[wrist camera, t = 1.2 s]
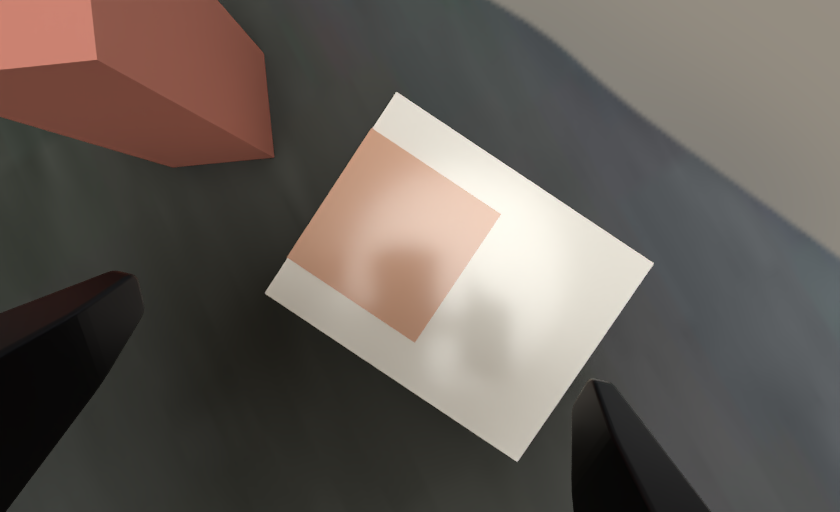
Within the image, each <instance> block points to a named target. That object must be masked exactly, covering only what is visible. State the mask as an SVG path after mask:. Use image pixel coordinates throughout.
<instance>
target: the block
mask: <svg viewBox="0 0 840 512" xmlns="http://www.w3.org/2000/svg"><path fill="white" fill-rule="evenodd" d="M0 117H3V118H6V119H10V120H13V121H16V122H20V123H23V124H27V125H30V126H33V127H37V128H40V129H44V130H47V131H50V132H54V133H57V134H61V135H64V136H67V137H71V138H74V139H77V140H81V141H84V142H88V143H91V144H94V145H98V146H101V147H105V148H108V149H111V150H115V151H118V152H122V153H125V154H128V155H132V156H135V157H139V158H142V159H145V160H149V161H152V162H156V163H159V164H162V165H166V166H169V167H183V166H193V165H203V164H214V163H224V162H234V161H244V160H254V159H265V158H274V149H273V139H272V129H271V119H270V109H269V99H268V89H267V79H266V70H265V60H264V53H263V52H262V51H261V50H260V48H259V47H258V46H257V45H256V44H255V43H254V42H253V40H252V39H251V38H250V37H249V36H248V35H247V34H246V32H245V31H244V30H243V29H242V28H241V27H240V26H239V24H238V23H237V22H236V21H235V20H234V19H233V17H232V16H231V15H230V14H229V13H228V12H227V11H226V9H225V8H224V7H223V6H222V5H221V4H220V3H219V1H218V0H0Z"/></svg>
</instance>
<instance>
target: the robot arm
mask: <svg viewBox="0 0 840 512" xmlns="http://www.w3.org/2000/svg"><path fill="white" fill-rule="evenodd" d="M143 312H144V302H143V298H142V294H141V290H140V285H139V281H138V279H137V277H136V276H135V275H133V274H129V273H124V272H120V271H110V272H107V273H104V274H102V275H99V276H97V277H94V278H91V279H89V280H86V281H84V282H81V283H78V284H76V285H73V286H70V287H68V288H65V289H63V290H60V291H57V292H55V293H52V294H50V295H47V296H44V297H42V298H39V299H37V300H34V301H31V302H29V303H26V304H23V305H21V306H18V307H16V308H13V309H10V310H8V311H5V312H3V313H0V512H6V511H7V509H8V508H9V507H10V505H11V504H12V503H13V501H14V500H15V499H16V497H17V496H18V495H19V493H20V492H21V491H22V489H23V488H24V487H25V485H26V484H27V483H28V481H29V480H30V479H31V477H32V476H33V475H34V473H35V472H36V471H37V469H38V468H39V467H40V465H41V464H42V463H43V461H44V460H45V459H46V457H47V456H48V455H49V453H50V452H51V451H52V449H53V448H54V447H55V445H56V444H57V443H58V441H59V440H60V439H61V437H62V436H63V435H64V433H65V432H66V431H67V429H68V428H69V427H70V425H71V424H72V423H73V421H74V420H75V419H76V417H77V416H78V415H79V413H80V412H81V411H82V409H83V408H84V407H85V405H86V404H87V403H88V401H89V400H90V399H91V397H92V396H93V395H94V393H95V392H96V390H97V389H98V388H99V386H100V385H101V384H102V382H103V380H104V379H105V377H106V376H107V374H108V373H109V371H110V369H111V368H112V366H113V364H114V363H115V361H116V359H117V358H118V356H119V354H120V353H121V351H122V349H123V348H124V346H125V344H126V343H127V341H128V339H129V338H130V336H131V334H132V333H133V331H134V329H135V328H136V326H137V324H138V323H139V321H140V319H141V317H142V315H143ZM571 479H572V500H573V510H574V512H711V511H710V509H709V508H708V507H707V505H706V504H705V503H704V502H703V500H702V499H701V498H700V496H699V495H698V494H697V492H696V491H695V490H694V489H693V487H692V486H691V485H690V483H689V482H688V481H687V479H686V478H685V477H684V476H683V474H682V473H681V472H680V470H679V469H678V468H677V466H676V465H675V464H674V463H673V461H672V460H671V459H670V457H669V456H668V455H667V453H666V452H665V451H664V450H663V448H662V447H661V446H660V444H659V443H658V442H657V440H656V439H655V438H654V436H653V435H652V434H651V433H650V431H649V430H648V429H647V427H646V426H645V425H644V423H643V422H642V421H641V420H640V418H639V417H638V416H637V414H636V413H635V412H634V410H633V409H632V408H631V407H630V405H629V404H628V403H627V401H626V400H625V399H624V397H623V396H622V395H621V394H620V392H619V391H618V390H617V388H616V387H615V386H614V385H613V384H612V383H610V382H606V381H602V380H597V379H590V380H589V381H588V382H587V383H586V384H585V386H584V388H583V389H582V391H581V393H580V395H579V396H578V398H577V400H576V401H575V403H574V405H573V409H572V471H571Z"/></svg>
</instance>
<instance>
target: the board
mask: <svg viewBox="0 0 840 512" xmlns="http://www.w3.org/2000/svg"><path fill="white" fill-rule="evenodd" d="M653 264H654V263H652V262H651V261H649V260H648V259H646V258H645V257H643V256H642V255H640V254H639V253H637V252H636V251H634V250H633V249H631V248H630V247H628V246H627V245H625V244H624V243H622V242H621V241H619V240H618V239H616V238H615V237H613V236H612V235H610V234H609V233H607V232H606V231H604V230H603V229H601V228H600V227H598V226H597V225H595V224H594V223H592V222H591V221H589V220H588V219H586V218H585V217H583V216H582V215H580V214H579V213H577V212H576V211H574V210H573V209H571V208H570V207H568V206H567V205H565V204H564V203H562V202H561V201H559V200H558V199H556V198H555V197H553V196H552V195H550V194H549V193H547V192H546V191H544V190H543V189H541V188H540V187H538V186H537V185H535V184H534V183H532V182H531V181H529V180H528V179H526V178H525V177H523V176H522V175H520V174H519V173H517V172H516V171H514V170H513V169H511V168H510V167H508V166H507V165H505V164H504V163H502V162H501V161H499V160H498V159H496V158H495V157H493V156H492V155H490V154H489V153H487V152H486V151H484V150H483V149H481V148H480V147H478V146H477V145H475V144H474V143H472V142H471V141H469V140H468V139H466V138H465V137H463V136H462V135H460V134H459V133H457V132H456V131H454V130H453V129H451V128H450V127H448V126H447V125H445V124H444V123H442V122H441V121H439V120H438V119H436V118H435V117H433V116H432V115H430V114H429V113H427V112H426V111H424V110H423V109H421V108H420V107H418V106H417V105H415V104H414V103H412V102H411V101H409V100H408V99H406V98H405V97H403V96H402V95H400V94H399V93H397V92H396V93H395V95H394V96H393V98H392V99H391V101H390V102H389V104H388V106H387V107H386V109H385V110H384V112H383V113H382V115H381V116H380V118H379V119H378V121H377V122H376V124H375V125H374V127H373V128H371V130H370V131H369V133H368V134H367V136H366V137H365V139H364V140H363V142H362V143H361V145H360V146H359V148H358V149H357V151H356V152H355V154H354V155H353V157H352V159H351V160H350V162H349V163H348V165H347V166H346V168H345V169H344V171H343V172H342V174H341V175H340V177H339V178H338V180H337V181H336V183H335V184H334V186H333V188H332V189H331V191H330V192H329V194H328V195H327V197H326V198H325V200H324V201H323V203H322V204H321V206H320V207H319V209H318V210H317V212H316V213H315V215H314V217H313V218H312V220H311V221H310V223H309V224H308V226H307V227H306V229H305V230H304V232H303V233H302V235H301V236H300V238H299V239H298V241H297V242H296V244H295V246H294V247H293V249H292V250H291V252H290V253H289V255H288V256H287V260H286V261H285V263H284V264H283V266H282V267H281V269H280V270H279V272H278V273H277V275H276V276H275V278H274V279H273V281H272V283H271V284H270V286H269V287H268V289H267V290H266V292H265V294H266V295H268V296H269V297H271V298H272V299H274V300H275V301H277V302H278V303H280V304H281V305H283V306H284V307H286V308H287V309H289V310H290V311H292V312H293V313H295V314H296V315H298V316H299V317H301V318H302V319H304V320H305V321H307V322H308V323H310V324H311V325H313V326H314V327H316V328H317V329H319V330H320V331H322V332H323V333H325V334H326V335H328V336H329V337H331V338H332V339H334V340H335V341H337V342H338V343H340V344H341V345H343V346H344V347H346V348H347V349H349V350H350V351H352V352H353V353H355V354H356V355H358V356H359V357H361V358H362V359H364V360H365V361H367V362H368V363H370V364H371V365H373V366H374V367H376V368H377V369H379V370H380V371H382V372H383V373H385V374H386V375H388V376H389V377H391V378H392V379H394V380H395V381H397V382H398V383H400V384H401V385H403V386H404V387H406V388H407V389H409V390H410V391H412V392H413V393H415V394H416V395H418V396H419V397H421V398H422V399H424V400H425V401H427V402H428V403H430V404H431V405H433V406H434V407H436V408H437V409H439V410H440V411H442V412H443V413H445V414H446V415H448V416H449V417H451V418H452V419H454V420H455V421H457V422H458V423H460V424H461V425H463V426H464V427H466V428H467V429H469V430H470V431H472V432H473V433H475V434H476V435H478V436H479V437H481V438H482V439H484V440H485V441H487V442H488V443H489V444H491V445H492V446H494V447H495V448H497V449H498V450H500V451H501V452H503V453H504V454H506V455H507V456H509V457H510V458H512V459H513V460H515V461H516V462H518V460H519V459H520V457H521V456H522V455H523V453H524V452H525V450H526V449H527V447H528V446H529V444H530V443H531V442H532V440H533V439H534V437H535V436H536V434H537V433H538V431H539V430H540V428H541V427H542V426H543V424H544V423H545V421H546V420H547V418H548V417H549V415H550V414H551V412H552V411H553V410H554V408H555V407H556V405H557V404H558V402H559V401H560V399H561V398H562V396H563V395H564V394H565V392H566V391H567V389H568V388H569V386H570V385H571V383H572V382H573V380H574V379H575V378H576V376H577V375H578V373H579V372H580V370H581V369H582V367H583V366H584V364H585V363H586V362H587V360H588V359H589V357H590V356H591V354H592V353H593V351H594V350H595V348H596V347H597V346H598V344H599V343H600V341H601V340H602V338H603V337H604V335H605V334H606V333H607V331H608V330H609V328H610V327H611V325H612V324H613V322H614V321H615V319H616V318H617V317H618V315H619V314H620V312H621V311H622V309H623V308H624V306H625V305H626V303H627V302H628V301H629V299H630V298H631V296H632V295H633V293H634V292H635V290H636V289H637V287H638V286H639V285H640V283H641V282H642V280H643V279H644V277H645V276H646V274H647V273H648V271H649V270H650V269H651V267H652V266H653Z"/></svg>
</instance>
